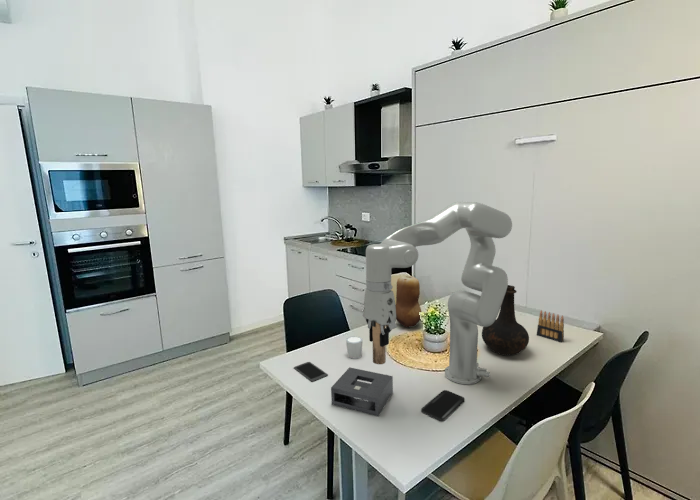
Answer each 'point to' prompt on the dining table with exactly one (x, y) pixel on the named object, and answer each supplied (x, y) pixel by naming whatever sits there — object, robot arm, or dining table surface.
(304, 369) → the cell phone
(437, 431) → the dining table surface
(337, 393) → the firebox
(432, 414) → the phone
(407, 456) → the dining table surface
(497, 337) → the glass bottle
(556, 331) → the ammunition clip
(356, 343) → the white cylinder
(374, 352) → the brown long cylinder
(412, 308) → the butternut squash
